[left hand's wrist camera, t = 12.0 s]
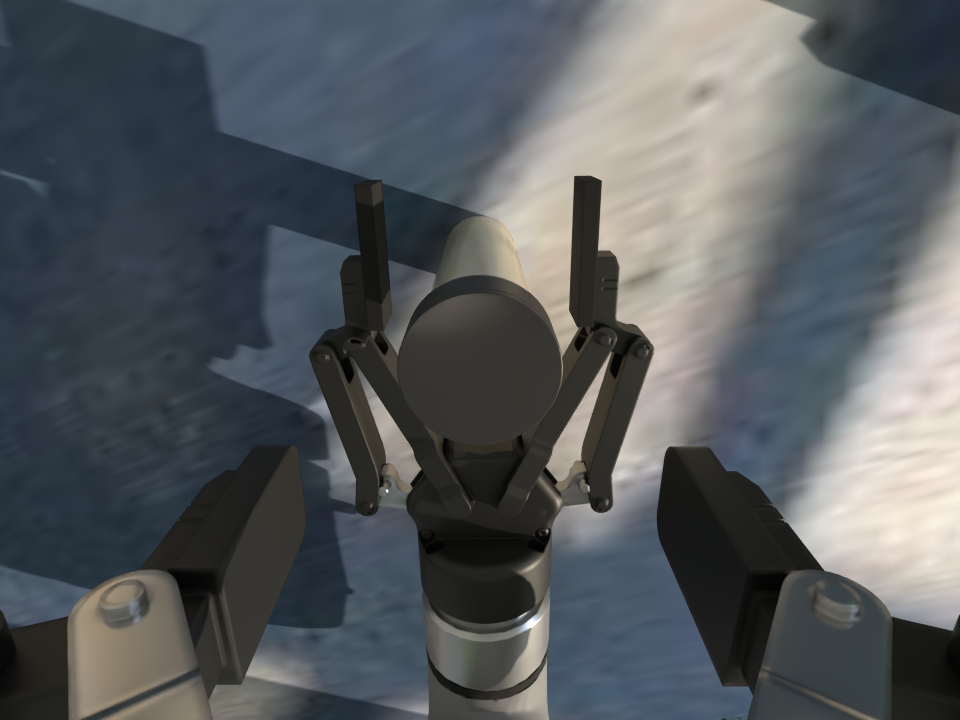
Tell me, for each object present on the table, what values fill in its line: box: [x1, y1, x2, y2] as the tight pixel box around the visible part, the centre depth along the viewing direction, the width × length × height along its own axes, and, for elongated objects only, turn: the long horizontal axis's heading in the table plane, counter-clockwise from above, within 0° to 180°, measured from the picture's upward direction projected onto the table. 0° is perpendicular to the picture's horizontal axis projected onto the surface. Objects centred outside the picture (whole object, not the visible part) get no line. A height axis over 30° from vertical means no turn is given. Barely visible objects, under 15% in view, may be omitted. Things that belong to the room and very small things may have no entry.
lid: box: [397, 275, 563, 445], centre depth 18 cm, size 5×5×2 cm
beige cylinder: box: [431, 216, 529, 292], centre depth 26 cm, size 4×4×18 cm
